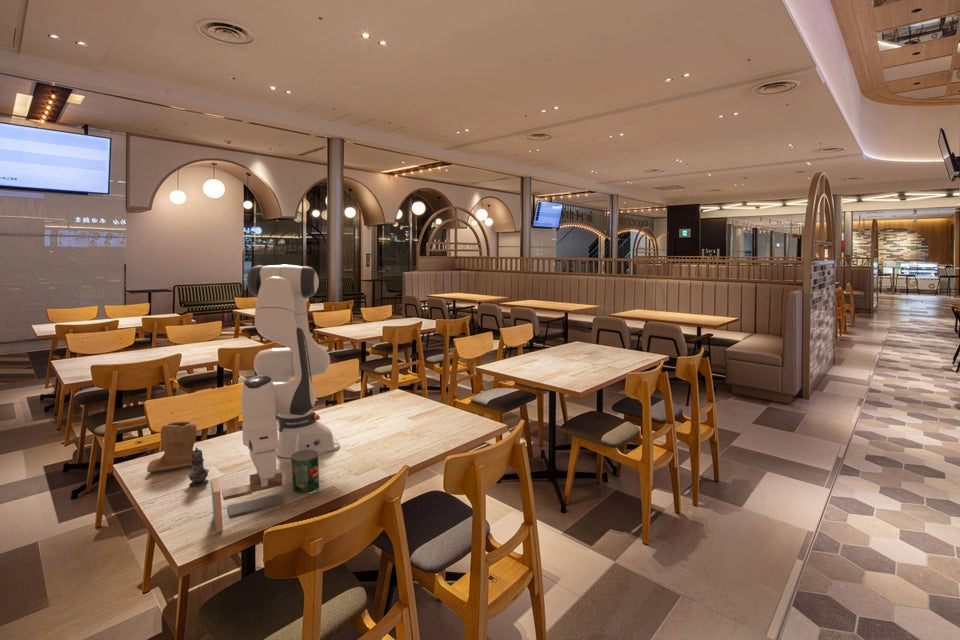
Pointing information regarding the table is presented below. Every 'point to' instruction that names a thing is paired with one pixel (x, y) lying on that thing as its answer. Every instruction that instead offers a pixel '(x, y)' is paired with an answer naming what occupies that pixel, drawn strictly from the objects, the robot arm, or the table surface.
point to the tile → (216, 504)
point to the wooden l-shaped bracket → (253, 486)
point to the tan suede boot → (175, 446)
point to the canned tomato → (305, 471)
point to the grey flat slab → (254, 505)
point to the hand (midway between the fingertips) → (262, 482)
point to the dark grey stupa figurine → (198, 470)
